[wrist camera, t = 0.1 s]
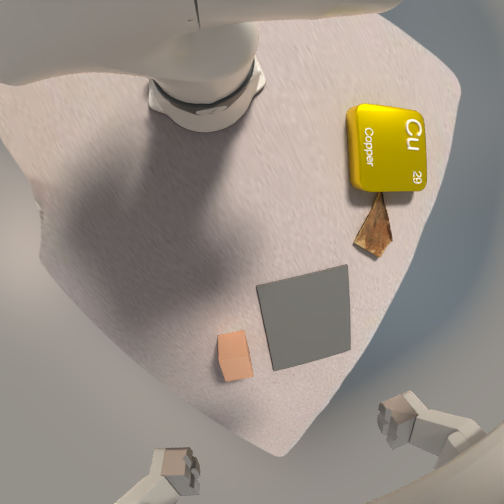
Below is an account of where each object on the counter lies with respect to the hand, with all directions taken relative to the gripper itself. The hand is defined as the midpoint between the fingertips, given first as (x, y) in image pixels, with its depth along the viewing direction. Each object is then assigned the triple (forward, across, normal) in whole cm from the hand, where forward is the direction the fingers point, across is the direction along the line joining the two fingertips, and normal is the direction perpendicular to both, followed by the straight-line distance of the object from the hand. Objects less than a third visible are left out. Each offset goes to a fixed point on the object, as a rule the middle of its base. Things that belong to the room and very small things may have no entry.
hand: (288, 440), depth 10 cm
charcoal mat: (+41, -10, +17) cm, 45 cm away
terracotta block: (+41, +5, +18) cm, 45 cm away
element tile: (+38, -29, -13) cm, 50 cm away
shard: (+40, -24, 0) cm, 47 cm away
